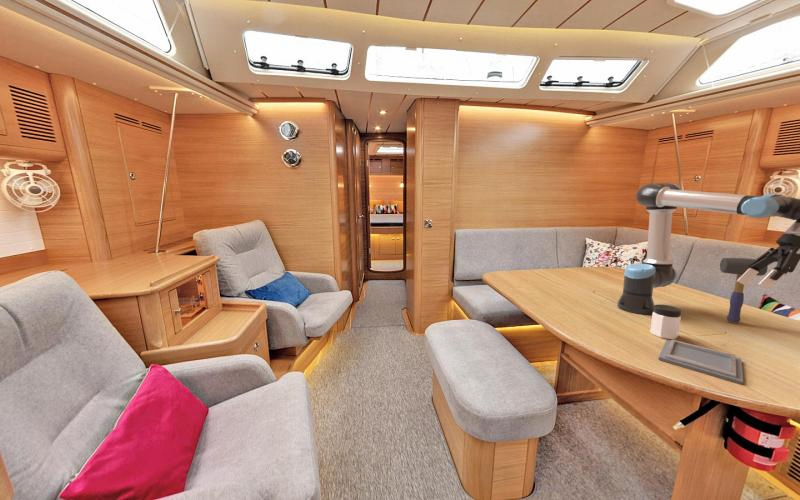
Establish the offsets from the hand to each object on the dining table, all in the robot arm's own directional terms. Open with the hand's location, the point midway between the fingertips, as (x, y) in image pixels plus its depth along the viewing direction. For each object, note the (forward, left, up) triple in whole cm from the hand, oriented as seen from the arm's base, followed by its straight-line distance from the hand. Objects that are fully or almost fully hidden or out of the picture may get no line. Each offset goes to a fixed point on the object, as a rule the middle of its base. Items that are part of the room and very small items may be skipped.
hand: (751, 284), depth 106 cm
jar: (-21, -14, -24) cm, 34 cm away
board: (-10, -31, -23) cm, 40 cm away
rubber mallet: (-2, +24, -23) cm, 34 cm away
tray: (-10, -31, -23) cm, 40 cm away
